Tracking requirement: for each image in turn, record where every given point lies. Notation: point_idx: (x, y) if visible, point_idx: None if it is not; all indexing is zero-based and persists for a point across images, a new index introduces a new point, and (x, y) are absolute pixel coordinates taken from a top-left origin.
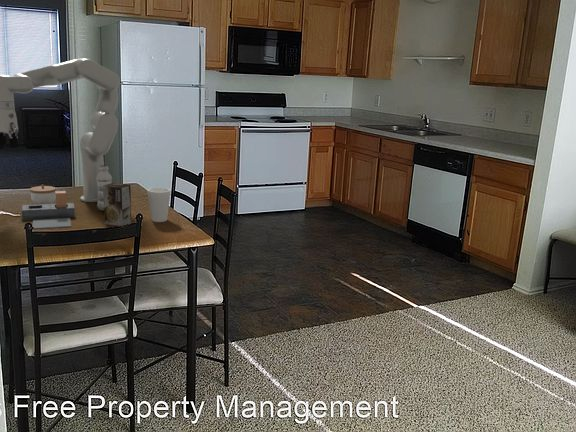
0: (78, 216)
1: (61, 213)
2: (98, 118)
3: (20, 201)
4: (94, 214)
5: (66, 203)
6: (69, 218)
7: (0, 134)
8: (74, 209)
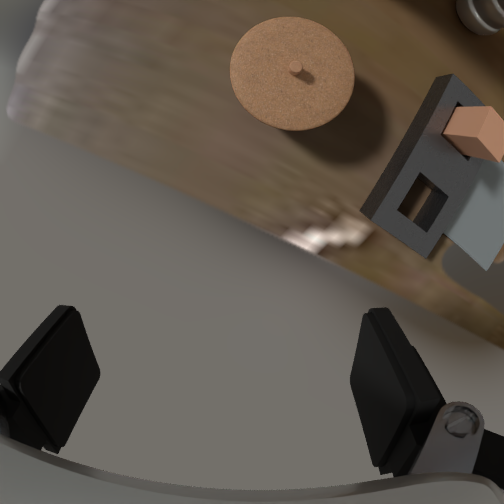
0: None
1: None
2: None
3: (166, 123)
4: (486, 65)
5: (446, 93)
6: None
7: (32, 445)
8: None
